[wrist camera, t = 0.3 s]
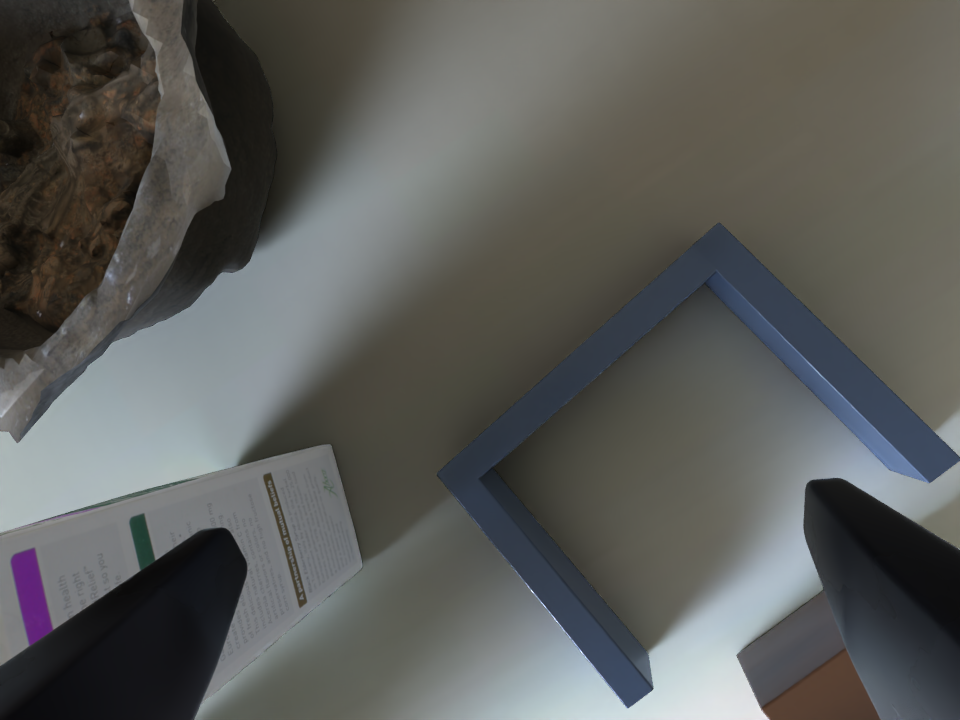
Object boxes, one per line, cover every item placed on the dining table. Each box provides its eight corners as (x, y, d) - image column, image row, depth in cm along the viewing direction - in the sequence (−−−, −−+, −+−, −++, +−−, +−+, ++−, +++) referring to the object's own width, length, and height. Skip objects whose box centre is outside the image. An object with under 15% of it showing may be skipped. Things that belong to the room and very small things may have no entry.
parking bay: (918, 448, 20) (963, 459, 17) (625, 672, 22) (627, 710, 19) (706, 239, 21) (719, 221, 19) (453, 463, 23) (435, 474, 21)
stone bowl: (455, 163, 23) (343, 54, 14) (110, 515, 29) (-124, 594, 20) (134, -198, 27) (-114, -464, 18) (-116, 176, 33) (-399, 116, 24)
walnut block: (1006, 697, 19) (1094, 769, 15) (858, 795, 20) (910, 884, 16) (869, 555, 20) (924, 592, 16) (735, 654, 21) (760, 709, 17)
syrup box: (333, 438, 25) (-38, 526, 10) (369, 571, 24) (28, 854, 10) (224, 471, 26) (-244, 591, 12) (256, 599, 25) (-195, 888, 11)
